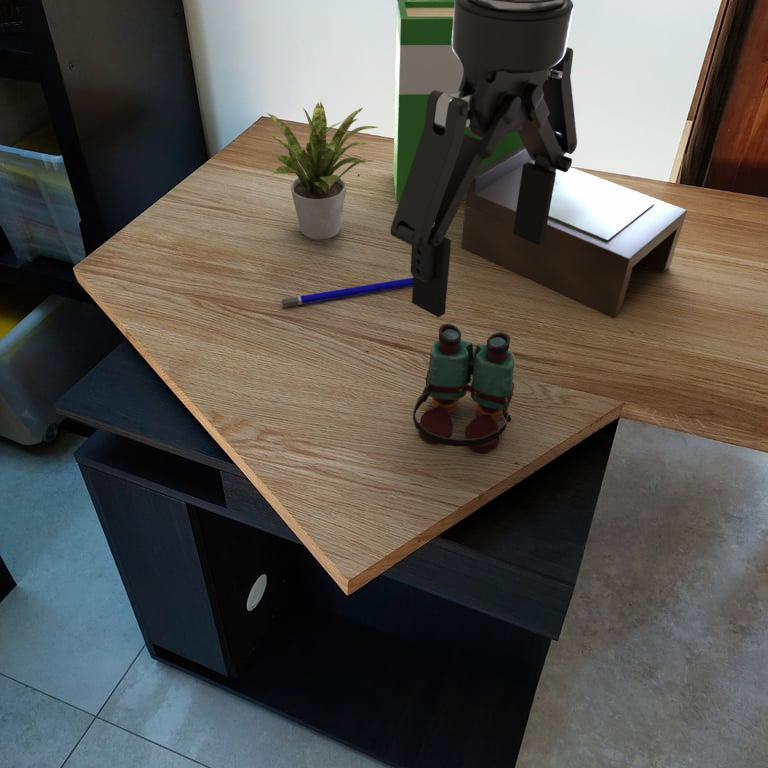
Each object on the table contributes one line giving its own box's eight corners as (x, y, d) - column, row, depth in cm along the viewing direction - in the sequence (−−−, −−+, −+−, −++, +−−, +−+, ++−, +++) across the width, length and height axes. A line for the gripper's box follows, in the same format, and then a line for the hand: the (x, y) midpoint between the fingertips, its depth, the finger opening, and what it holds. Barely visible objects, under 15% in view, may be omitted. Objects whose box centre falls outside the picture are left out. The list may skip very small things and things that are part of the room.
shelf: (669, 267, 97) (692, 194, 90) (613, 318, 89) (633, 243, 82) (522, 206, 108) (532, 137, 101) (461, 247, 100) (467, 175, 93)
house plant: (399, 247, 99) (403, 124, 88) (298, 273, 95) (288, 147, 84) (354, 196, 109) (352, 80, 98) (260, 217, 104) (247, 98, 93)
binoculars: (407, 387, 66) (431, 308, 72) (406, 460, 74) (429, 384, 80) (513, 405, 64) (528, 323, 71) (501, 479, 72) (515, 399, 79)
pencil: (283, 308, 89) (282, 301, 89) (281, 304, 90) (280, 297, 89) (422, 285, 93) (422, 278, 92) (420, 281, 94) (420, 274, 93)
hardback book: (513, 174, 114) (536, -1, 98) (522, 199, 109) (548, 18, 93) (393, 175, 114) (397, -1, 97) (396, 201, 108) (400, 19, 92)
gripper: (569, -57, 58) (528, 198, 72) (333, 25, 44) (341, 320, 58) (662, -37, 54) (599, 228, 69) (436, 60, 40) (418, 366, 55)
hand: (481, 271), depth 64 cm, fingers open, 13 cm apart
